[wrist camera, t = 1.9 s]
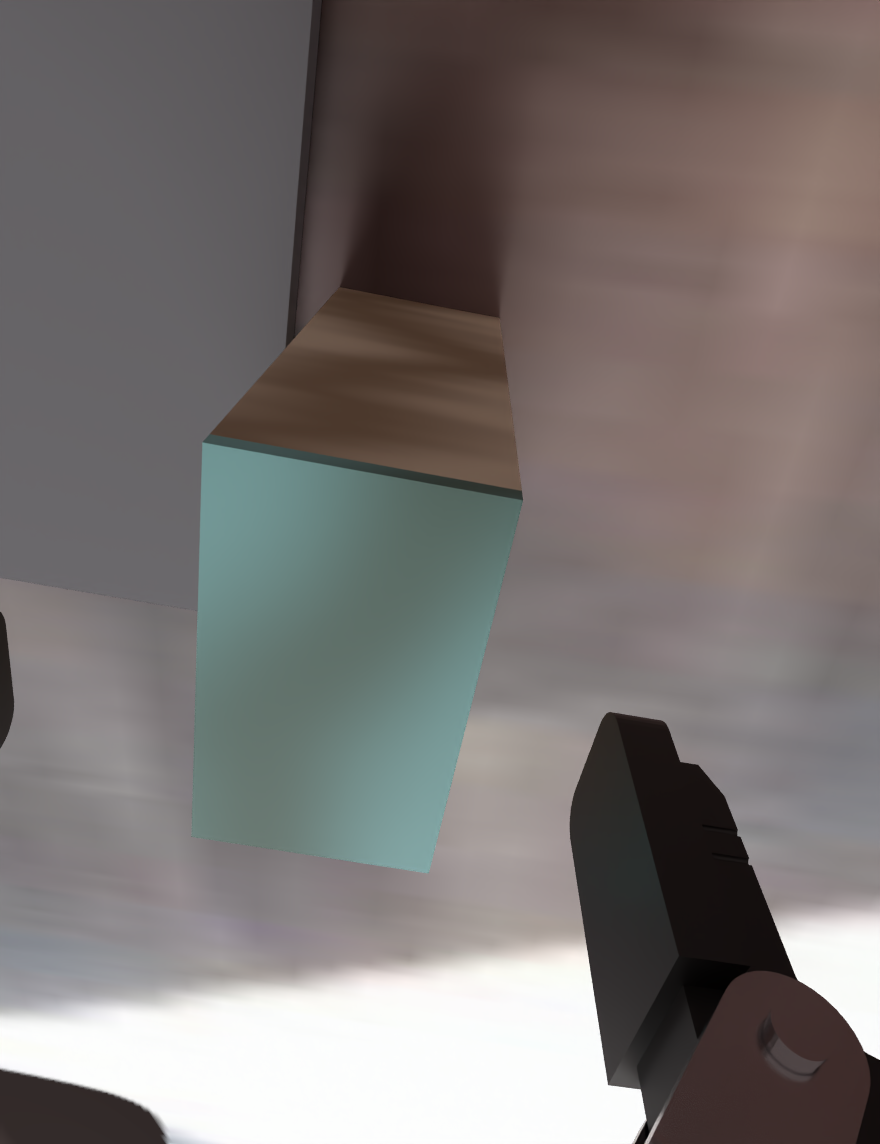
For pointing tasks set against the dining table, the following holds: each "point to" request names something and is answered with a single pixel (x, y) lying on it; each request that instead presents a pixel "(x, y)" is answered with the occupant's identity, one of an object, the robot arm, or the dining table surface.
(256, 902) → the dining table surface
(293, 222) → the mat
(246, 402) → the block
